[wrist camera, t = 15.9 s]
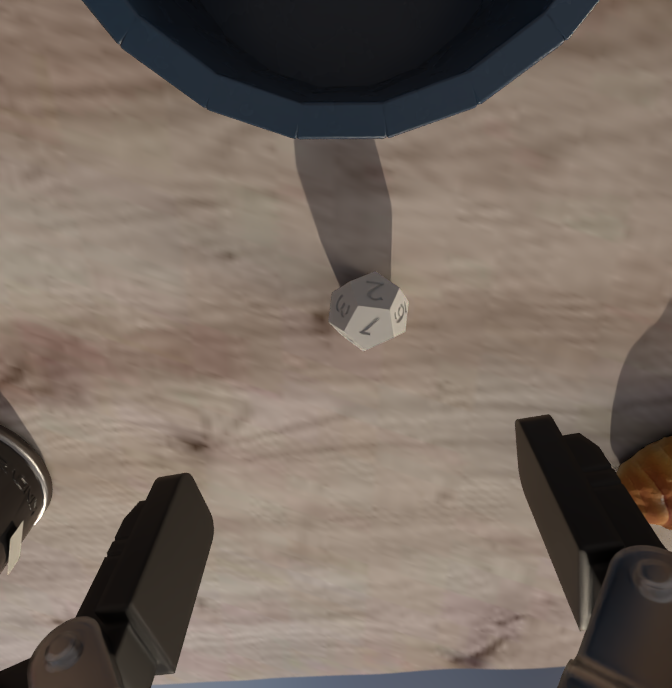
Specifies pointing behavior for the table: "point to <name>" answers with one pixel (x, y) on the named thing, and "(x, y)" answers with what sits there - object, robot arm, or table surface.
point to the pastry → (651, 481)
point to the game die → (369, 310)
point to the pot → (340, 56)
